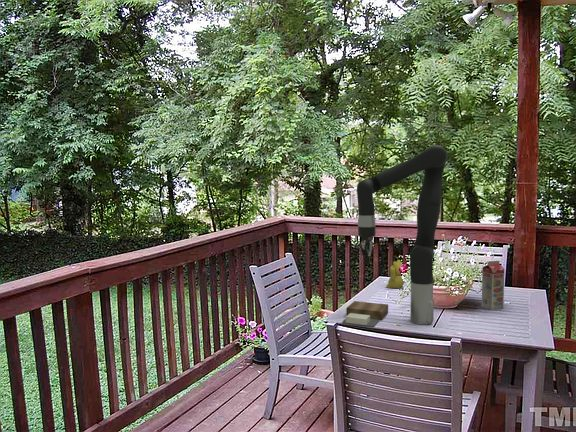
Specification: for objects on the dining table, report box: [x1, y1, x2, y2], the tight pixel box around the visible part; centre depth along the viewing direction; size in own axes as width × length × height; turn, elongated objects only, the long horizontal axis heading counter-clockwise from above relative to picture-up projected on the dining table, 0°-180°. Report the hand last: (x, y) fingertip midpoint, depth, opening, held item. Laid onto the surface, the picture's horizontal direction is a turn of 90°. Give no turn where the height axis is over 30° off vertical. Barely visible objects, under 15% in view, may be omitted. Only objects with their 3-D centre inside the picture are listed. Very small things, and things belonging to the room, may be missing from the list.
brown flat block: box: [345, 300, 389, 321], centre depth 223 cm, size 16×12×4 cm
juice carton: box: [481, 260, 505, 311], centre depth 230 cm, size 7×7×22 cm
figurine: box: [386, 259, 405, 289], centre depth 271 cm, size 11×9×15 cm
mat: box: [341, 318, 380, 328], centre depth 213 cm, size 14×10×1 cm
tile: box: [345, 313, 370, 325], centre depth 212 cm, size 9×6×2 cm, turn 64°
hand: (367, 264), depth 217 cm, fingers closed
